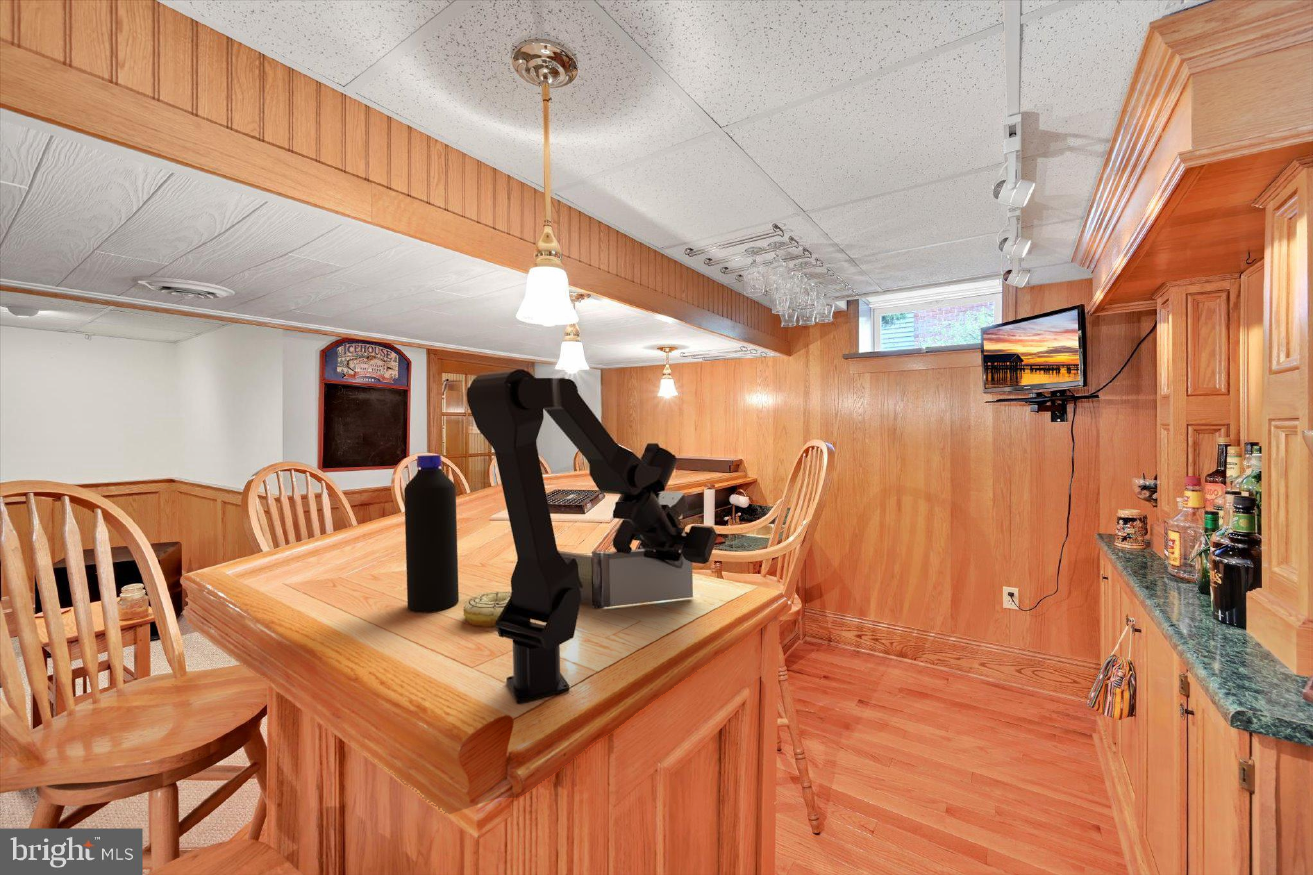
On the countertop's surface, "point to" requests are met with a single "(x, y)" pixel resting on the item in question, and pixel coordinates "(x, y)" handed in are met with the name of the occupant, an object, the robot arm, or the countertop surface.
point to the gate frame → (590, 577)
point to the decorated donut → (486, 608)
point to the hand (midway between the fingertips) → (680, 566)
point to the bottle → (431, 538)
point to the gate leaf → (643, 579)
